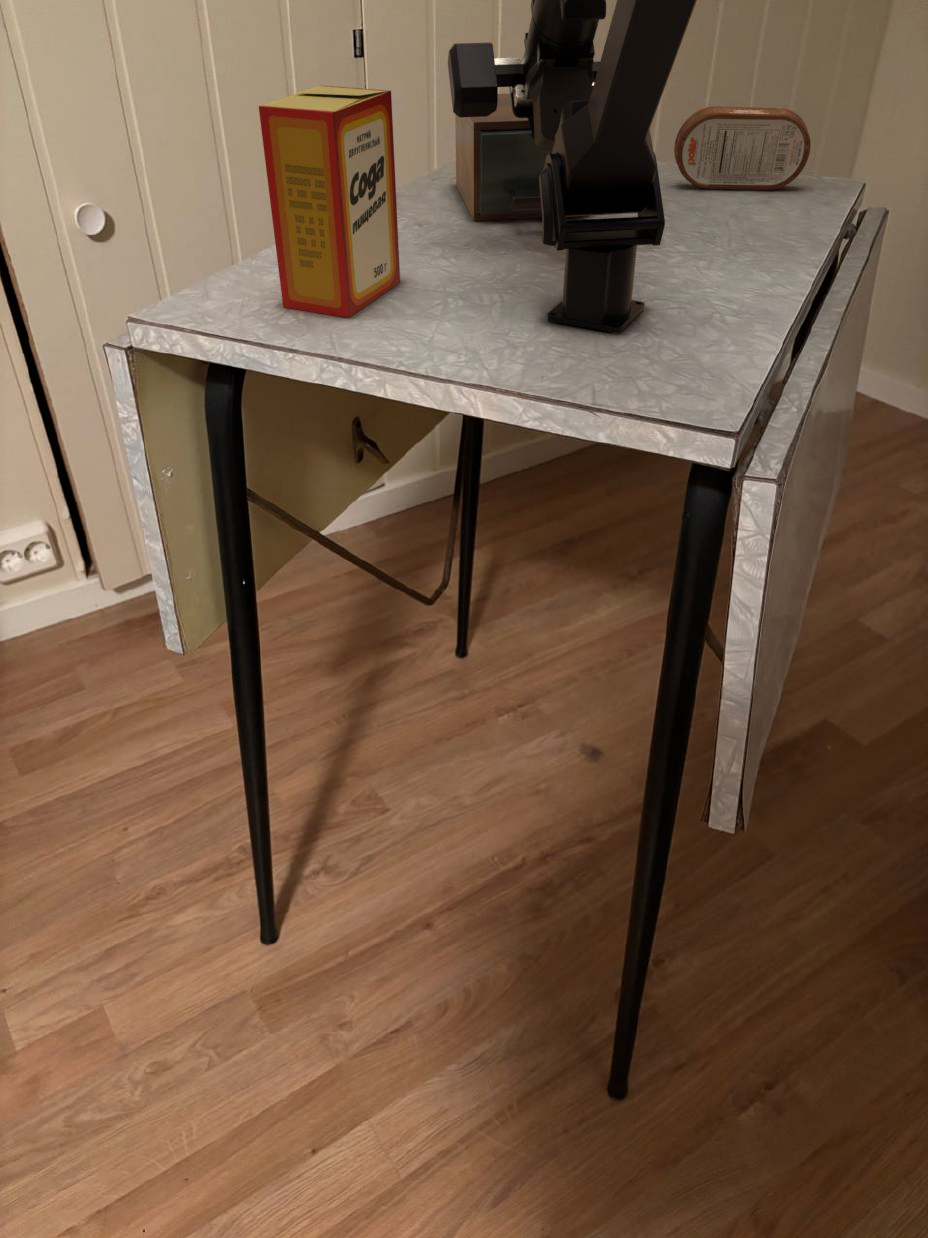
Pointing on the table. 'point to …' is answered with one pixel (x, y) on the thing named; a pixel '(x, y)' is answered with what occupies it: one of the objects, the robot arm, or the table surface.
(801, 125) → the tin
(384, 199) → the baking soda box
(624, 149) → the robot arm
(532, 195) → the drawer
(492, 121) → the cabinet
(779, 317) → the table surface
